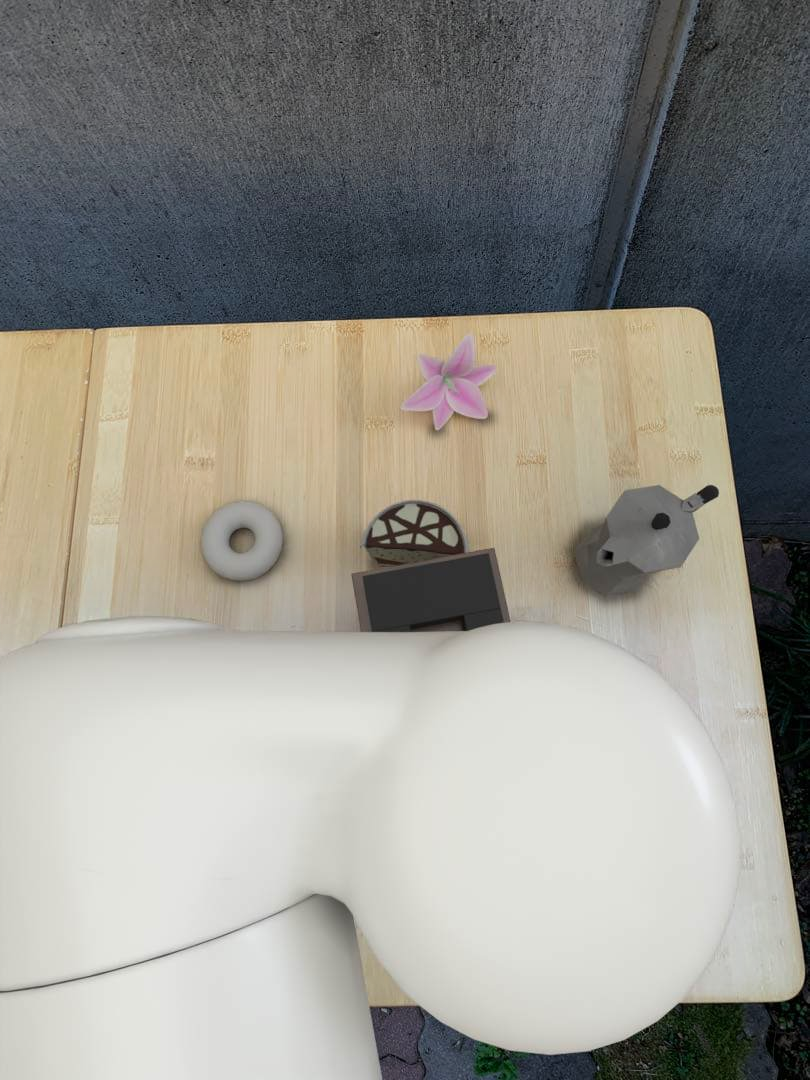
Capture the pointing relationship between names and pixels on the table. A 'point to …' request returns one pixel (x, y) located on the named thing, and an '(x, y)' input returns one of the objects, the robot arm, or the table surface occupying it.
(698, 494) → the coffeepot
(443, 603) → the black pad
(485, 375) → the lily
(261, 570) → the donut
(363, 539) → the chocolate cake
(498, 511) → the table surface
